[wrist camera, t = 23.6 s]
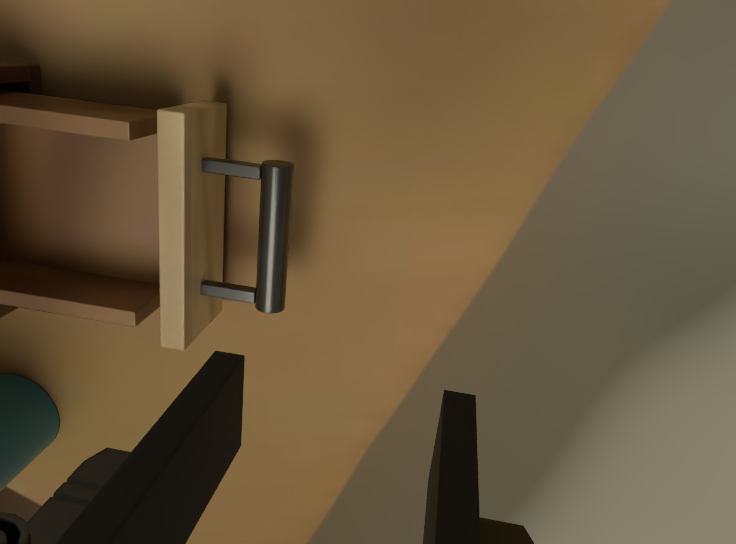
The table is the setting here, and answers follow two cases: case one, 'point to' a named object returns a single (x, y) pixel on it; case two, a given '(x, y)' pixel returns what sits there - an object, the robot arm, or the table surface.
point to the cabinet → (24, 81)
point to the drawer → (129, 213)
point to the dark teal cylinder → (23, 424)
